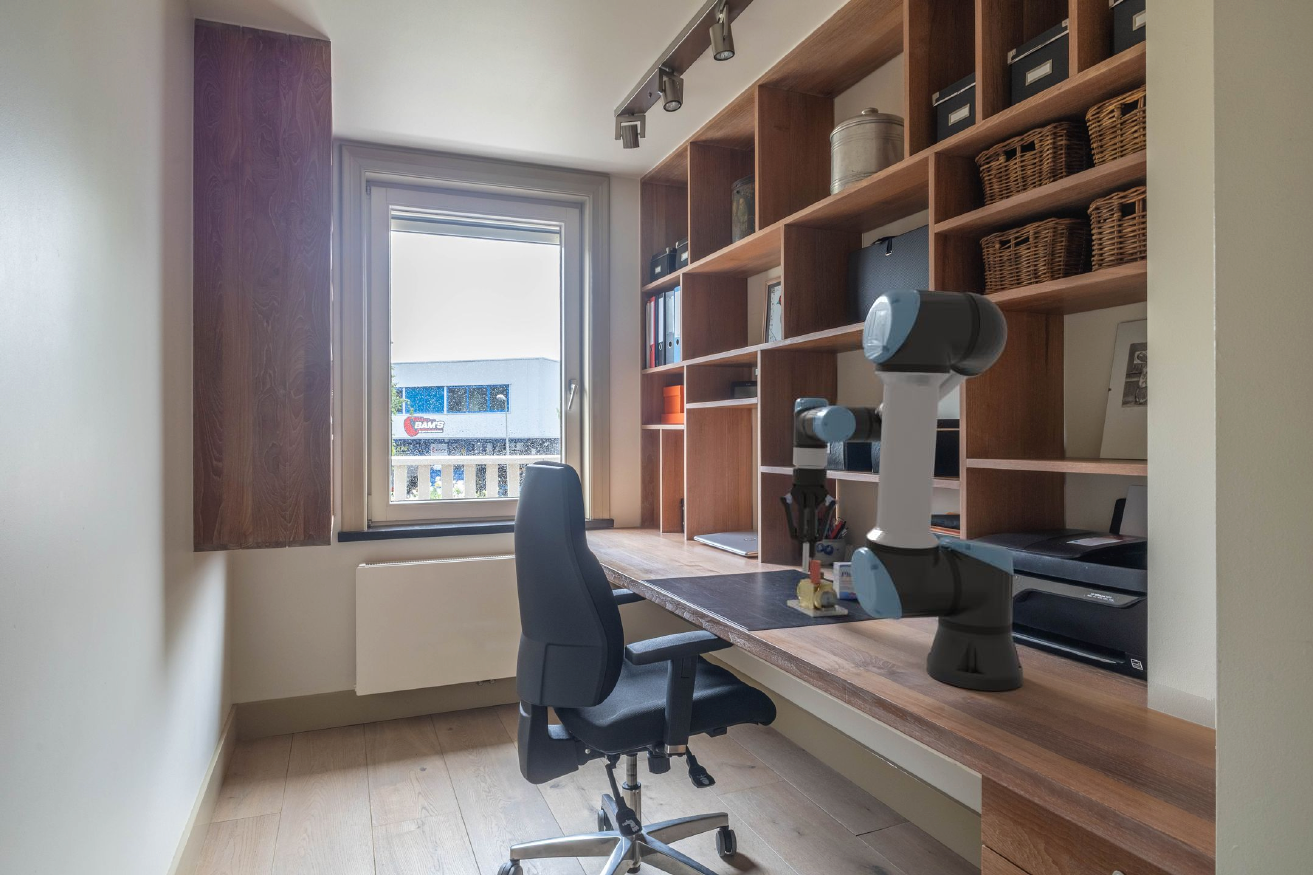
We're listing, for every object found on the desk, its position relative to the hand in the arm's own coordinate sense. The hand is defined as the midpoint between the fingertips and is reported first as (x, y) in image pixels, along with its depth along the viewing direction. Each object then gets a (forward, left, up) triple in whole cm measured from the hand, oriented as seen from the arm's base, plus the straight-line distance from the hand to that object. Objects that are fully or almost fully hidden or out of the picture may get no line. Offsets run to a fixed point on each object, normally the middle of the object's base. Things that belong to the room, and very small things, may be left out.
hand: (806, 571), depth 165 cm
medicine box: (+14, -21, -10) cm, 27 cm away
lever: (+2, -4, -3) cm, 5 cm away
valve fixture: (+5, -6, -10) cm, 12 cm away
